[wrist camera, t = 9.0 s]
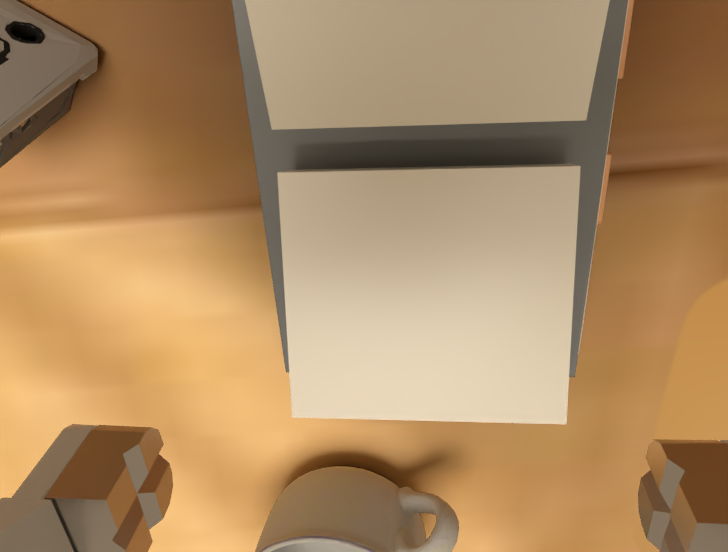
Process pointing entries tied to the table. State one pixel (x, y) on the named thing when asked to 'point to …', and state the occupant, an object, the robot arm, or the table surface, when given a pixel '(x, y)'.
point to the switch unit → (445, 152)
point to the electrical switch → (36, 74)
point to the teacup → (355, 516)
